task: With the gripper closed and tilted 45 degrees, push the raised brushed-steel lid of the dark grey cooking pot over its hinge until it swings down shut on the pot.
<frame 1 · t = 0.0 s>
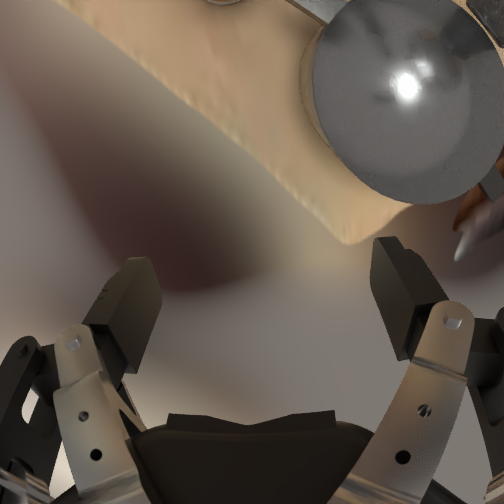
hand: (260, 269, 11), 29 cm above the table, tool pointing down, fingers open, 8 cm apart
cooking pot: (385, 87, 31), on the table
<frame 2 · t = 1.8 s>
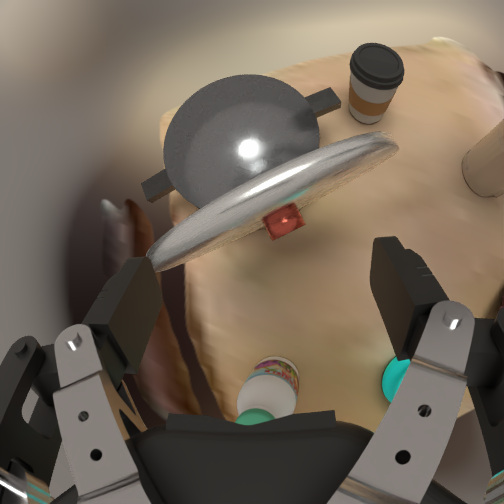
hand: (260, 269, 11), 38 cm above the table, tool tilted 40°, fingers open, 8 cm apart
cooking pot: (253, 167, 51), on the table
milk bottle: (275, 377, 47), on the table
lid: (280, 215, 27), point 23 cm above the table, hinge at 99.9°
coffee cup: (365, 111, 49), on the table
donuts: (407, 376, 43), on the table
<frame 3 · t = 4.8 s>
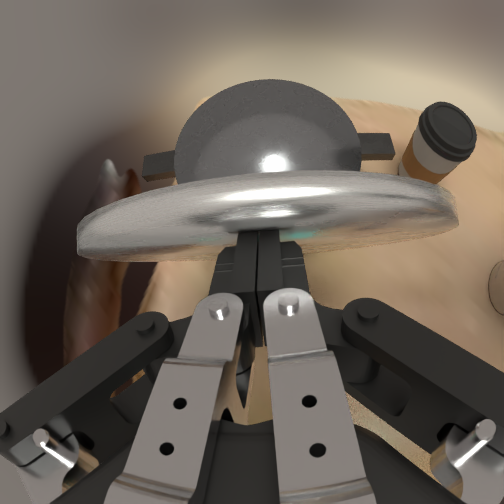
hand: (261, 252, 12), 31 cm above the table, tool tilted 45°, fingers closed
cooking pot: (272, 188, 45), on the table
lid: (270, 252, 20), point 23 cm above the table, hinge at 99.5°, touching gripper
coffee cup: (414, 176, 43), on the table
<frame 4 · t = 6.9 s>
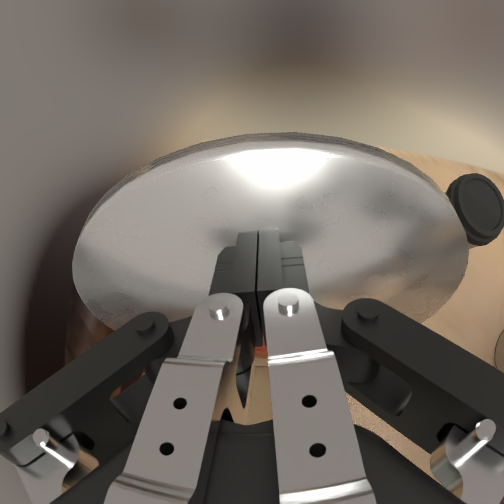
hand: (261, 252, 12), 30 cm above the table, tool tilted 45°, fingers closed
lid: (275, 325, 18), point 23 cm above the table, hinge at 67.8°, touching gripper
coffee cup: (430, 239, 40), on the table
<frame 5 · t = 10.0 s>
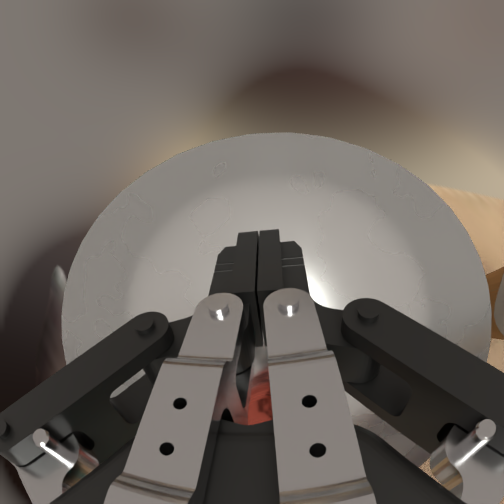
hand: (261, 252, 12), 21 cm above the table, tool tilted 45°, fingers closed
lid: (276, 408, 13), point 18 cm above the table, hinge at 22.5°, touching gripper
coffee cup: (474, 308, 29), on the table
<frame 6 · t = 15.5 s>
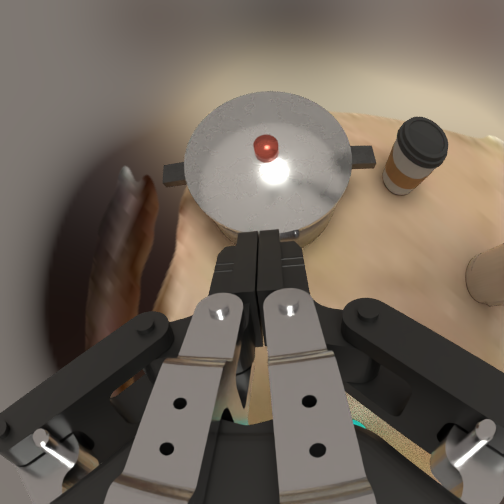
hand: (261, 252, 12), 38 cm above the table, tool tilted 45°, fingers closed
cooking pot: (272, 192, 53), on the table
lid: (266, 153, 39), point 14 cm above the table, hinge at -0.2°
coffee cup: (397, 180, 51), on the table
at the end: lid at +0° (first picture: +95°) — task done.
